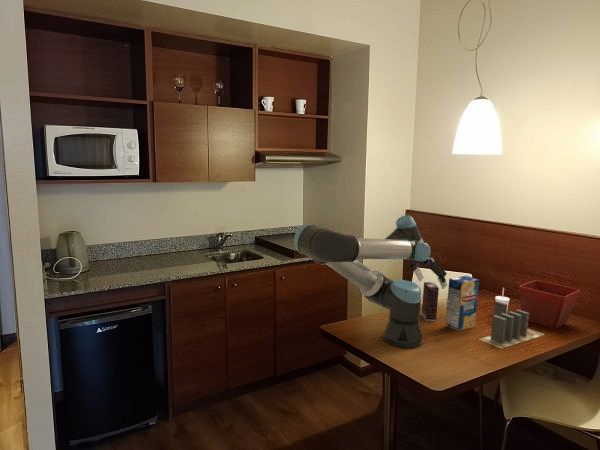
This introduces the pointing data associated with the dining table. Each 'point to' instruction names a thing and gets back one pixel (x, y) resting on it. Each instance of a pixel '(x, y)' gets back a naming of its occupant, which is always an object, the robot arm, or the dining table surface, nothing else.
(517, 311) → the domino
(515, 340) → the board
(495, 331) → the domino
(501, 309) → the domino
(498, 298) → the beverage cup
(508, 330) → the domino
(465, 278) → the beverage box
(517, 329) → the domino
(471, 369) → the dining table surface
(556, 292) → the plant pot
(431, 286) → the supplement box
